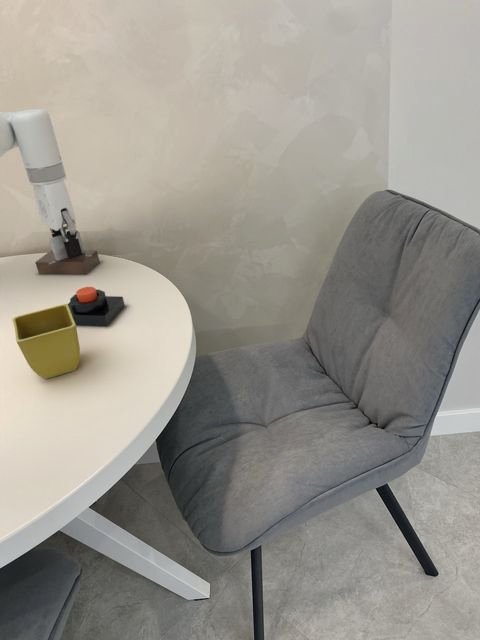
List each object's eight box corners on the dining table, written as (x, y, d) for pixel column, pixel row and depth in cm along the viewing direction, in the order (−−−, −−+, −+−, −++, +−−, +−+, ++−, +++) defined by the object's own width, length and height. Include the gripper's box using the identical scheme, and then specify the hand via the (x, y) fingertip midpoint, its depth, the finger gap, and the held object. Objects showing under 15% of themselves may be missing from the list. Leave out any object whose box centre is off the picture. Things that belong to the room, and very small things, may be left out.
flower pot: (90, 373, 88) (75, 324, 83) (34, 390, 85) (15, 341, 80) (81, 348, 95) (67, 302, 90) (29, 364, 92) (11, 317, 87)
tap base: (36, 276, 125) (31, 263, 123) (57, 260, 132) (53, 247, 131) (85, 277, 122) (81, 263, 120) (103, 260, 130) (100, 247, 128)
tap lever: (57, 261, 123) (51, 239, 120) (55, 259, 124) (48, 237, 122) (84, 252, 126) (78, 230, 124) (82, 250, 128) (76, 229, 125)
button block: (59, 325, 103) (53, 306, 101) (79, 305, 110) (74, 287, 108) (107, 326, 101) (102, 307, 99) (125, 306, 108) (120, 288, 106)
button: (75, 303, 102) (72, 294, 102) (84, 294, 105) (81, 286, 105) (92, 303, 102) (90, 295, 101) (101, 294, 105) (98, 286, 104)
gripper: (16, 171, 120) (40, 248, 129) (42, 184, 108) (67, 268, 117) (49, 163, 123) (70, 239, 133) (78, 175, 111) (100, 257, 121)
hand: (69, 252), depth 125 cm, fingers open, 6 cm apart
